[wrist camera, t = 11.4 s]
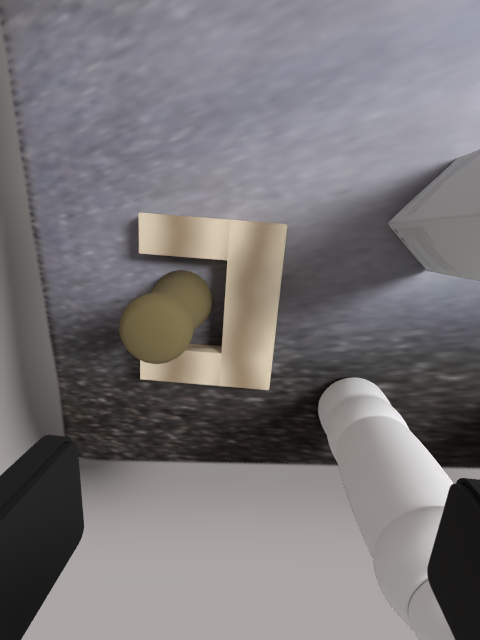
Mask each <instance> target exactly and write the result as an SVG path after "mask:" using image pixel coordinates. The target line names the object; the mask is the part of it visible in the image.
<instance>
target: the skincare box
mask: <svg viewBox="0 0 480 640" xmlns="http://www.w3.org/2000/svg"><path fill="white" fill-rule="evenodd" d="M388 225H389V226H390V228H391V229H392V230H393V231H394V232H395V234H396V235H397V236H398V237H399V238H400V240H401V241H402V242H403V243H404V244H405V246H406V247H407V248H408V249H409V250H410V251H411V253H412V254H413V255H414V256H415V257H416V258H417V260H418V261H419V262H420V263H421V264H422V265H423V267H424V268H425V269H426V270H427V271H430V272H436V273H440V274H446V275H452V276H457V277H462V278H467V279H472V280H477V281H480V150H478V151H475V152H472V153H470V154H467V155H464V156H462V157H459V158H457V159H456V160H455V161H454V162H453V163H452V164H451V165H450V166H449V167H447V168H446V169H445V170H444V171H443V172H442V173H441V174H440V175H439V176H438V177H436V178H435V179H434V180H433V181H432V182H431V183H430V184H429V185H428V186H427V187H426V188H424V189H423V190H422V191H421V192H420V193H419V194H418V195H417V196H416V197H415V198H414V199H412V200H411V201H410V202H409V203H408V204H407V205H406V206H405V207H404V208H403V209H402V210H401V211H400V212H398V213H397V214H396V215H395V216H394V217H393V218H392V219H391V220H390V221H389V222H388Z"/></svg>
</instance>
